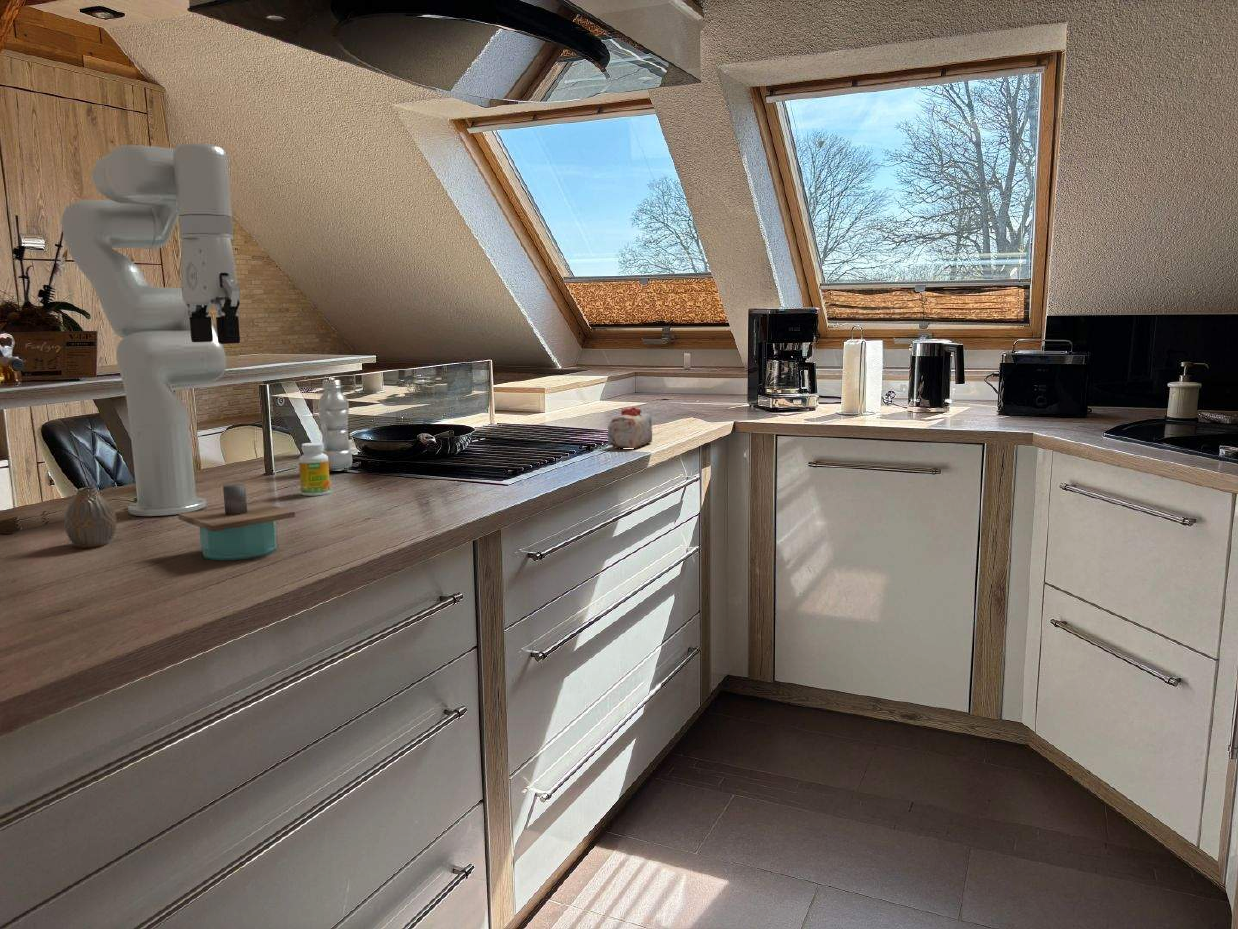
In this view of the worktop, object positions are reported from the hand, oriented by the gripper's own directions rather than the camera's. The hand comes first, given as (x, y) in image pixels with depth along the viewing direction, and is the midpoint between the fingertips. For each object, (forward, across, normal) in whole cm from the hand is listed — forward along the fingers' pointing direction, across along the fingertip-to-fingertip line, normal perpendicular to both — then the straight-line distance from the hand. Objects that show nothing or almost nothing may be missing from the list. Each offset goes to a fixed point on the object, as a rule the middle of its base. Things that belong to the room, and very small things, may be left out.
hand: (215, 342), depth 147 cm
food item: (+31, -14, +108) cm, 113 cm away
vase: (+30, -8, -18) cm, 36 cm away
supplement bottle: (+31, -19, +25) cm, 44 cm away
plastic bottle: (+31, -39, +41) cm, 64 cm away
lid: (+25, +14, -5) cm, 29 cm away
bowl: (+30, +14, -5) cm, 33 cm away
